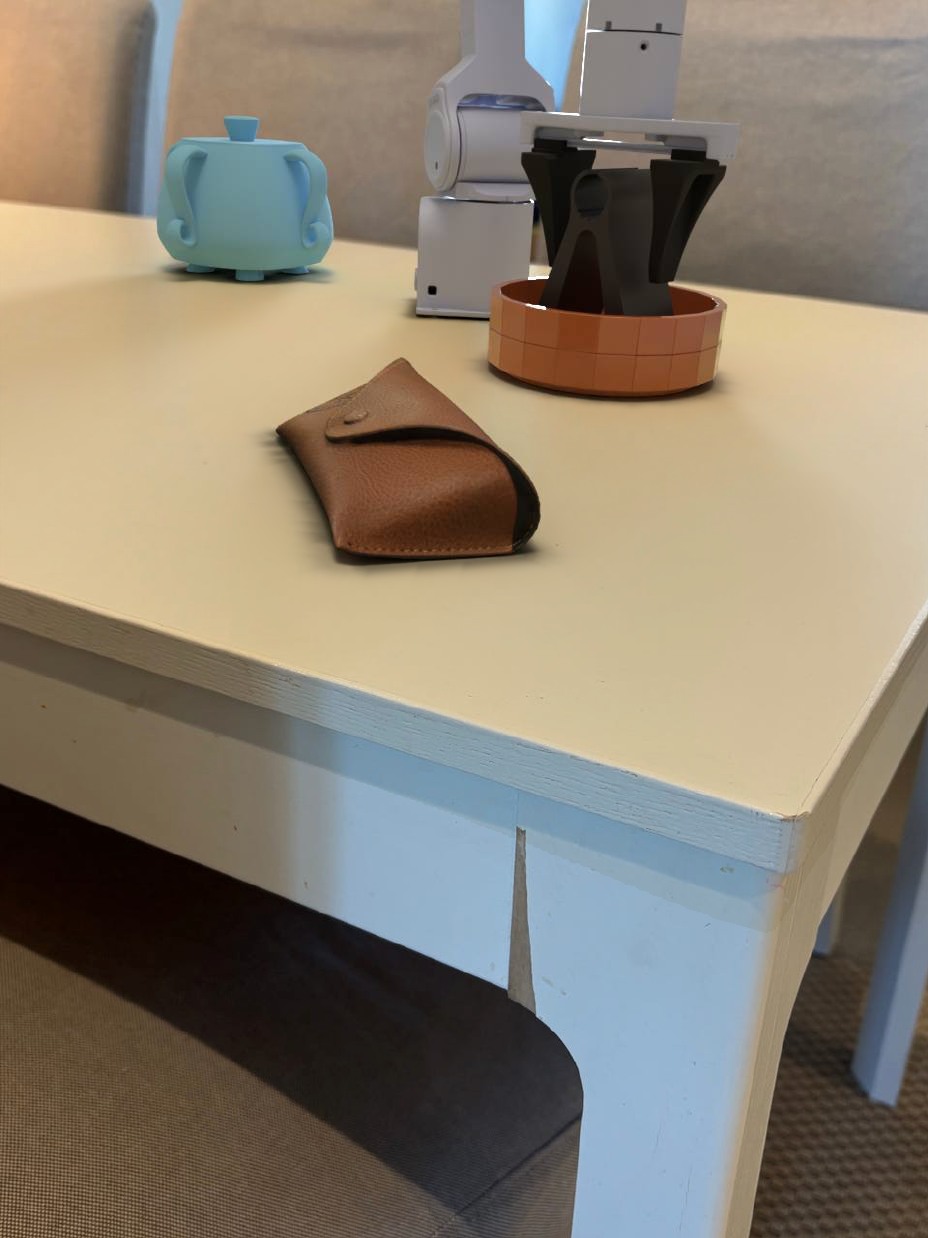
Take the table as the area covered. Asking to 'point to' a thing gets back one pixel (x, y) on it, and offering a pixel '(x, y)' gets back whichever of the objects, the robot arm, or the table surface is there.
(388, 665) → the table surface
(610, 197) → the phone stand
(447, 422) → the sunglasses case
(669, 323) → the bowl
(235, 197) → the decorative pot
